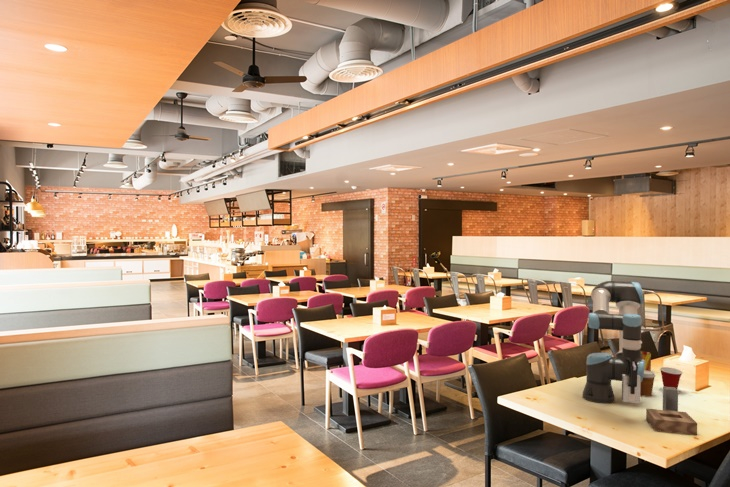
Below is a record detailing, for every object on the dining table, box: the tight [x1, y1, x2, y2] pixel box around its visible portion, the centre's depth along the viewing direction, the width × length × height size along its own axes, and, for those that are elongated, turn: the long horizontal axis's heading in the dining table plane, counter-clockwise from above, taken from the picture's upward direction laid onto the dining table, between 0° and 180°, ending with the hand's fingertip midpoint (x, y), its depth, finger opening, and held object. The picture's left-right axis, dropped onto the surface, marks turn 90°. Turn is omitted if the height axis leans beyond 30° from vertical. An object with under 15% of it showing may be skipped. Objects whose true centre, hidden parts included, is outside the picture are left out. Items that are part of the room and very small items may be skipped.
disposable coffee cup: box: [640, 370, 656, 397], centre depth 266 cm, size 10×10×12 cm
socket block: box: [645, 408, 698, 436], centre depth 220 cm, size 16×14×5 cm
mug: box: [641, 350, 652, 371], centre depth 309 cm, size 10×14×12 cm
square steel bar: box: [662, 386, 679, 411], centre depth 237 cm, size 5×5×12 cm
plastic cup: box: [659, 366, 684, 390], centre depth 271 cm, size 11×11×12 cm
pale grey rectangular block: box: [621, 374, 641, 404], centre depth 228 cm, size 7×3×12 cm, turn 74°
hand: (630, 398), depth 228 cm, fingers closed on pale grey rectangular block, 3 cm apart
